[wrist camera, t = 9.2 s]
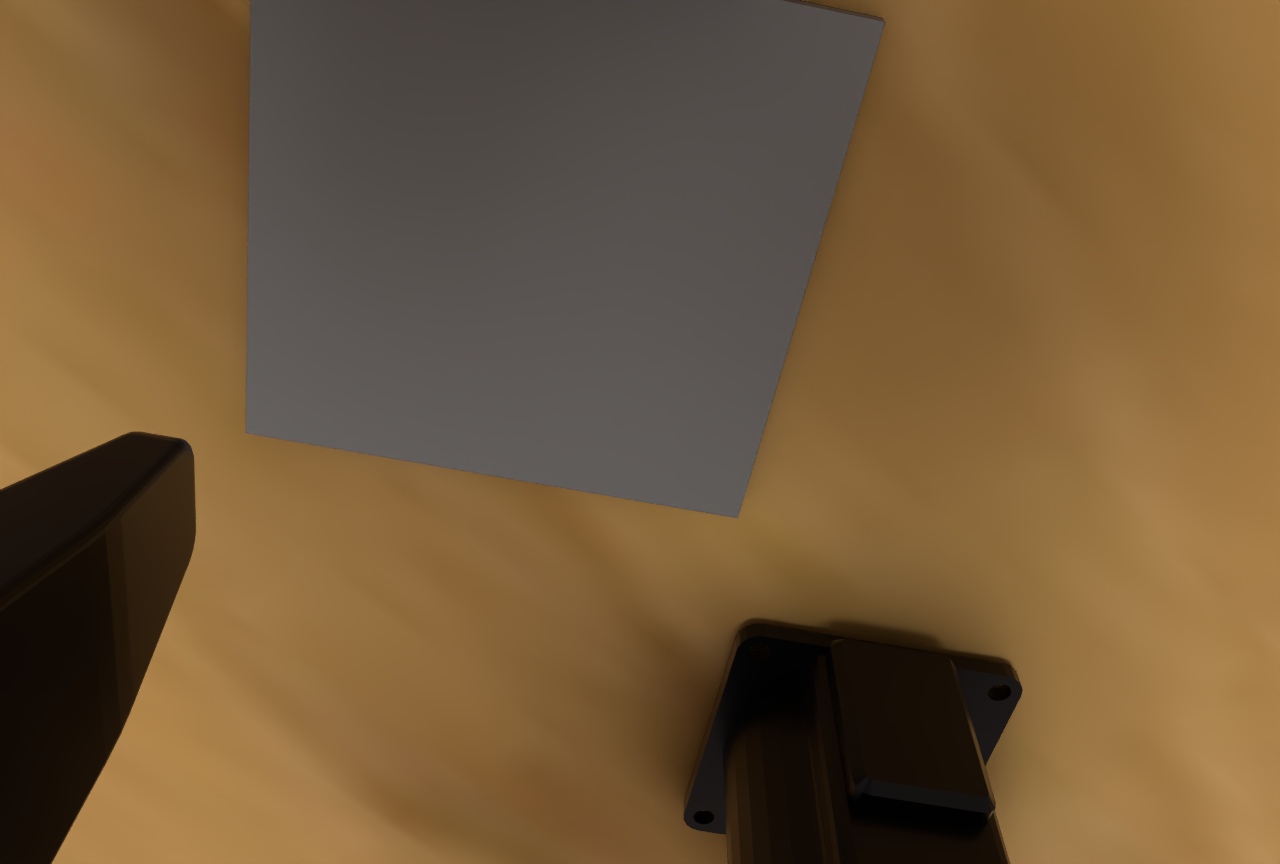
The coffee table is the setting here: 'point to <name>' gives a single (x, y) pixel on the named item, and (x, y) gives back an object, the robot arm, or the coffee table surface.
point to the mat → (541, 229)
